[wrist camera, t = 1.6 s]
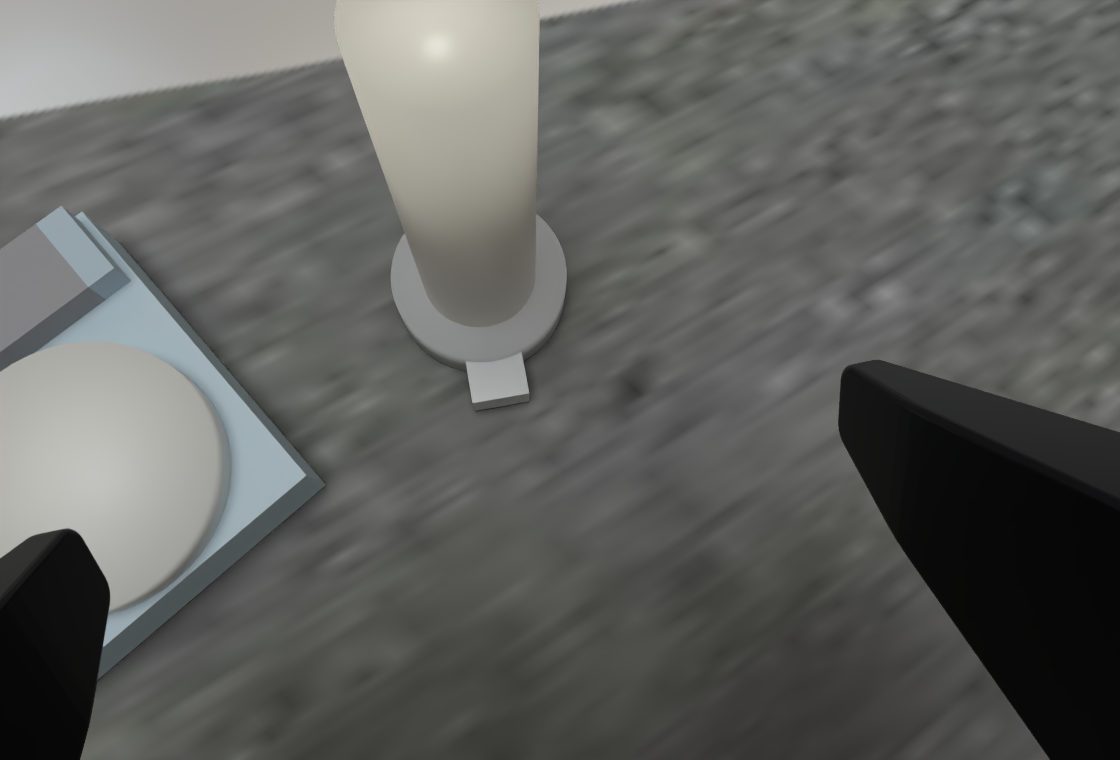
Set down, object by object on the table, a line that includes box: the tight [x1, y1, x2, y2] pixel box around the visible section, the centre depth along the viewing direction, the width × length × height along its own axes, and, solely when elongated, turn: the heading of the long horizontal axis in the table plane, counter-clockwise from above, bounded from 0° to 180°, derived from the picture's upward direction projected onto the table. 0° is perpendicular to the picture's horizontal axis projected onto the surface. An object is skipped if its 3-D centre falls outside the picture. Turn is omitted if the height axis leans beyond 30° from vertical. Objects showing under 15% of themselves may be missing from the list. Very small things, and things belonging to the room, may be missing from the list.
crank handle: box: [334, 0, 567, 411], centre depth 18 cm, size 6×5×12 cm
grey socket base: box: [0, 206, 326, 680], centre depth 21 cm, size 10×8×3 cm
